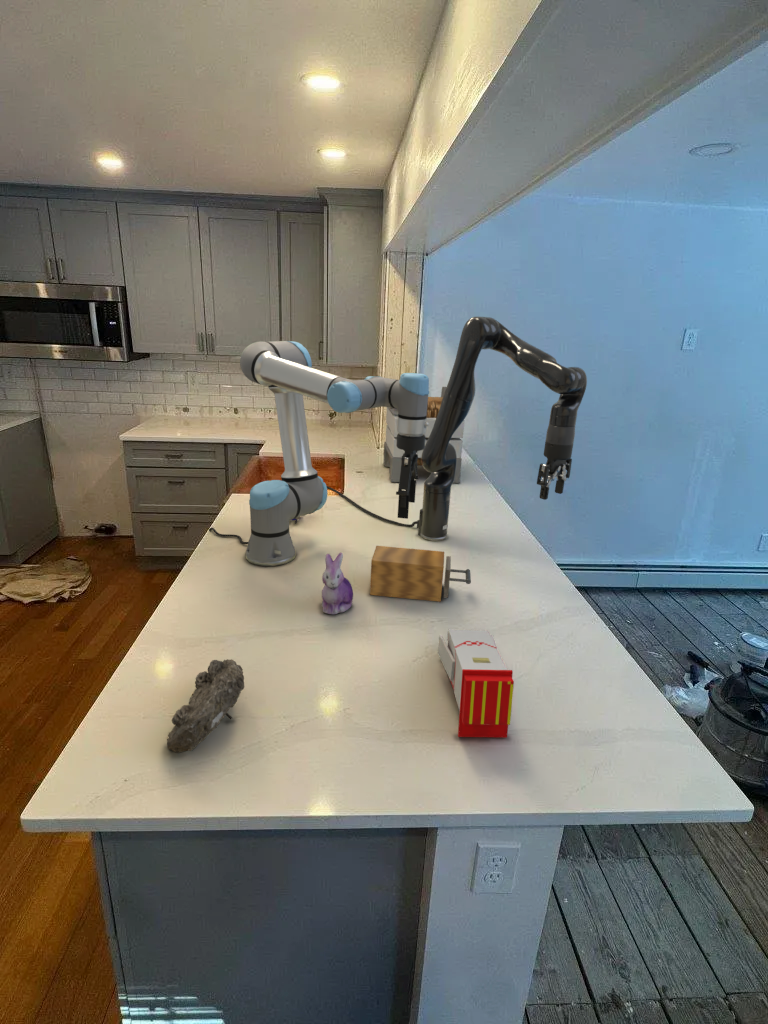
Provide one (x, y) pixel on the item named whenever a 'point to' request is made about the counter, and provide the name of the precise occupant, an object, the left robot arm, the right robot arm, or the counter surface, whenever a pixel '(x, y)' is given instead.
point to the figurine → (335, 587)
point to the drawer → (447, 578)
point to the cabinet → (407, 573)
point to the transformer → (394, 454)
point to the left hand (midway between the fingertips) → (406, 509)
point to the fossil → (206, 705)
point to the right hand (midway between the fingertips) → (551, 495)
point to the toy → (478, 682)
